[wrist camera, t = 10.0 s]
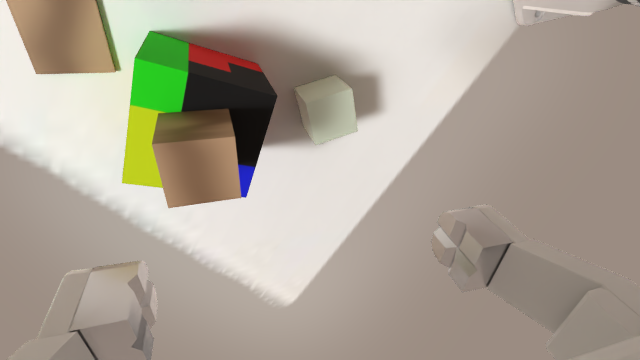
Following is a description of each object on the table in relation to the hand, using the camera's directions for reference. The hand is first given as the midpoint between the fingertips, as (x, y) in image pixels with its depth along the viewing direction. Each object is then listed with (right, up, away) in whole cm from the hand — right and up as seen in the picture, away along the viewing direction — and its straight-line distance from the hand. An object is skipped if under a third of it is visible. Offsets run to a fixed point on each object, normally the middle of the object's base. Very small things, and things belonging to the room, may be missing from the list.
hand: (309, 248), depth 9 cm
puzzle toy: (-12, +11, +25) cm, 30 cm away
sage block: (0, +11, +29) cm, 31 cm away
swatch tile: (-21, +14, +19) cm, 32 cm away
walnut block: (-9, +5, +17) cm, 20 cm away
